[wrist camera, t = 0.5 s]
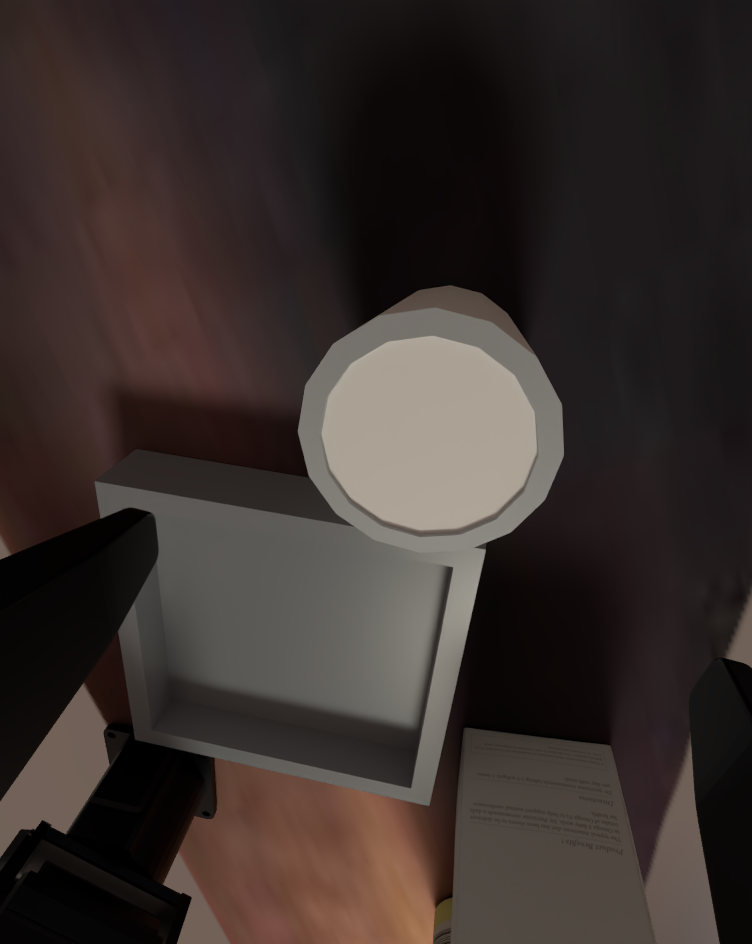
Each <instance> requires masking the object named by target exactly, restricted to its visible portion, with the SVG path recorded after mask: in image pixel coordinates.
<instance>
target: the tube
mask: <svg viewBox="0 0 752 944" xmlns="http://www.w3.org/2000/svg"><path fill="white" fill-rule="evenodd" d="M452 899H453V897H452V898H449V899H447V900H444V901H443V902H441V903H440V904H439V905H438V906H437V908H436V910H435V917H434V934H433V944H450V942H451V921H452Z"/></svg>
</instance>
